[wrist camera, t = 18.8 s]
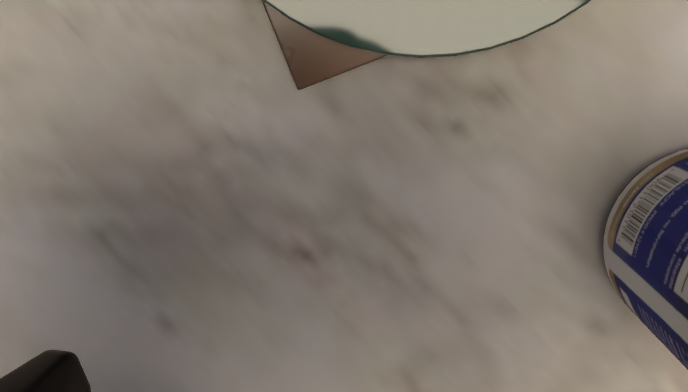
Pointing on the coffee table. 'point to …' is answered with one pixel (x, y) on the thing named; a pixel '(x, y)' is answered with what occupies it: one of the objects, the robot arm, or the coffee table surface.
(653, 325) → the pill bottle
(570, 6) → the tin lid
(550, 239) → the coffee table surface
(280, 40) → the glossy brown square tile
